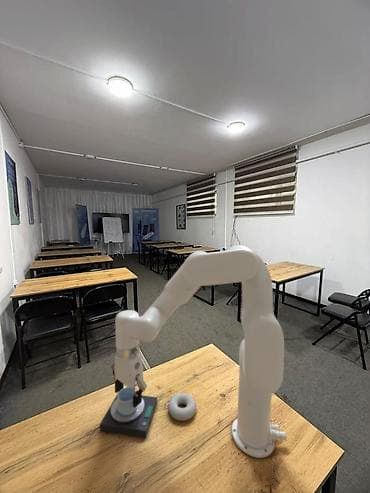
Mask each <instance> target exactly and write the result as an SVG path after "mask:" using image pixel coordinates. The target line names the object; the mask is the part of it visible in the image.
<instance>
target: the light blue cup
mask: <svg viewBox="0 0 370 493" xmlns="http://www.w3.org/2000/svg"><path fill="white" fill-rule="evenodd" d="M138 390H139V389H137V388H136V391H138ZM133 395H134V393H133V391H132V389H131V388H129V387H127V386H124V388H123V389H121V390H120V391H119V392H117V393H116V396H117V409H118V411H119V413H120V414H123V415H128V414H131V413H133V412H134V411H135V410H136V408H137V406H136V407H135V408H134V407H133Z"/></svg>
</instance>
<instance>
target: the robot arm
mask: <svg viewBox="0 0 370 493" xmlns="http://www.w3.org/2000/svg"><path fill="white" fill-rule="evenodd" d="M234 283H241V297H242V298H241V300H242V301H241V316H240V319H241V320H240V323H241V327H242V331H243V337H244V338H243V339H242V341H241V342H240V345H239V348H238V349H239V350H238V364H239V365H238V366H239V368H238V372H239V374H238V393H237V394H238V395H237V417H236V418H235V419H234V420H233V422H232V424H231V436H232V439H233V441H234V443H235V445H236V446H237V447H238V448H239V449H240V450H241V451H242V452H243V453H245V454H246V455H248V456H250V457H253V458H256V459H257V458H259V459H260V458H266V457H269V456H270V455H271V454H272V453H273V452H274V449H275V445H276V444H275V442H276V440H280V441H287V440H288V437H287V432H286V431H281V430H280V425H279V424H272V423H271V411H272V395H273V394H275V393H276V392H278V390H279V389H280V388H281V386H282V384H283V380H284V369H285V368H284V367H285V366H284V365H285V336H284V332H283V329H282V326H281V324H280V323H279V321H278V319H277V318H276V315H275V314H274V313H275V312H274V298H273V296H274V293H273V280H272V276H271V272H270V270H269V268H268V266H267V264H266V263H265V261H264V260H263V259H262V258H261V256H260V255H259V254H258V253H257V252H255V251H254V250H252V249H250V248H249V247H247V246H244V245H238V244H237V245H233V246H231V247H229V248H228V249H227V250H222V251H215V252H207V251H203V250H196V251H194V252H192V253H191V254H190V255H188V257H187V258H186V259H185V260H184V262H183V263H182V264H181V266H180V267H179V268H178V270H177V271H175V273H174V274H173V275H172V276H171V277H170V279H169V280H168V281H167V283H166V284H165V285H164V287H163V290H162V292H161V293H160V295H158V296H157V298H156V300H155V301H154V302H153V303H152V304H151V305H150V306H149V308H148V309H147V310H146V311H145V312H144V313H143V315H141V316H140V315H139V313H138V312H137V310H132V309H126V310H122V311H119V312H118V313H117V314H116V316H115V319H114V320H115V322H114V323H115V326H114V327H115V328H114V329H115V354H114V362H113V363H111V365H110V366H111V369H112V374H113V381H114V393H115V394H118V392H119V391H120V390H121V389H123V388H125V387H129V388H131V389H132V391H133V393H134V395H133V407H134V408H135V407H136V406H138V405H139V404H140V403H141V402H142V396H143V393H144V392H145V391H146V390H147V389H146V388H147V386H148V385H147V383H146V382H145V380H144V366H143V358H142V355H141V353H140V342H142V343H151V342H153V341H154V340H155V339H157V337H158V335H159V333H160V332H161V330H162V328H163V327H164V325H165V323H166V322H167V321H168V319H170V317H171V316H172V314H173V313H174V312H175V311H176V310H177V309H178V308H179V307H180V306H182V305H185V304H187V303H188V302H189V301H190V300H191V298H192V297H193V296H194V295H195V293H196V292H197V291H198V290H199V289H200V288H201V287H202V286H216V285H224V284H225V285H226V284H227V285H228V284H234ZM137 388H138V389H137ZM136 389H137V390H138V391H136Z"/></svg>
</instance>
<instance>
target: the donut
mask: <svg viewBox="0 0 370 493" xmlns="http://www.w3.org/2000/svg"><path fill="white" fill-rule="evenodd" d="M179 405H185V407H179ZM167 409H168V413H169V415H170V416H171V417H172V418H173V419H175V420H177V421H180V422H181V421H189V420H190V419H191V418H193V416H194V415H195V414H196V412H197V402H196V400H195V398H194V397H193V396H192V395H190V394H189V393H186V392H179V393H176V394H174V395H173V396H172V397H171V398H170V399H169V401H168V406H167Z"/></svg>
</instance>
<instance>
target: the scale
mask: <svg viewBox="0 0 370 493" xmlns="http://www.w3.org/2000/svg"><path fill="white" fill-rule="evenodd" d="M142 399H143V400H144V410H143V413H142V414H141V415H140V417H139V418H137V419H136V420H134V421H132V422H130V423H118V422H116V421H114V420H113V419H112V417H111V407H112V405H113V403H114V402H115V401H116V400H117V395H116V396H115V397H114V399H113V401H112V402H111V404H110V406H109V408H108V409H107V410H106V413H105V414H104V416H103V418H102V420H101V421H100V423H99V432H101V433H108V434H113V435H114V434H115V435H121V436H128V437H135V438H141V439H147V436H148V433H149V430H150V427H151V424H152V421H153V418H154V415H155V412H156V408H157V405H158V396H150V395H149V396H148V395H142Z"/></svg>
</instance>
